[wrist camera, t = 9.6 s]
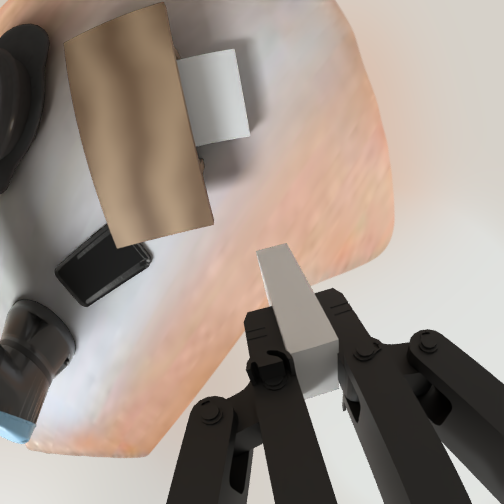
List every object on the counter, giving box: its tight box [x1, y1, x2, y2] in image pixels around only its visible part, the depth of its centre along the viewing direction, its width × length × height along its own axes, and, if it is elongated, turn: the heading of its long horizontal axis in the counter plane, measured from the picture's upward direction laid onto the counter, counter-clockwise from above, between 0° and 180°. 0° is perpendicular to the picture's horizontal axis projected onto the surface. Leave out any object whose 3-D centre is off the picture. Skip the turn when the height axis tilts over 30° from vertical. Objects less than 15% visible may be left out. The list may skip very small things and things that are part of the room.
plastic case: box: [176, 49, 250, 147], centre depth 27 cm, size 14×10×3 cm
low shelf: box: [64, 2, 214, 249], centre depth 25 cm, size 11×24×6 cm, turn 11°
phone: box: [55, 224, 151, 307], centre depth 35 cm, size 8×1×15 cm
